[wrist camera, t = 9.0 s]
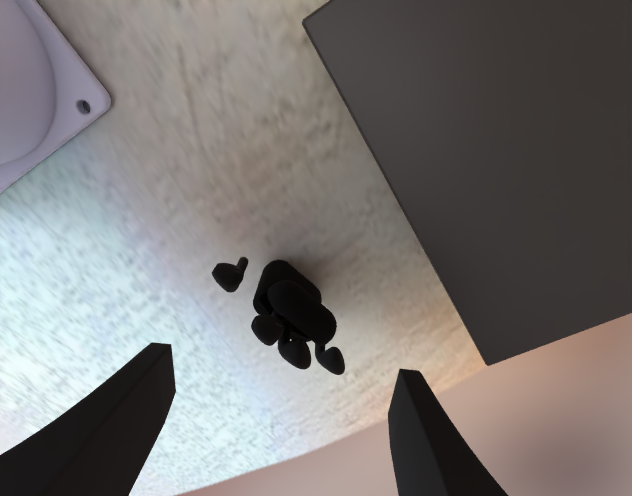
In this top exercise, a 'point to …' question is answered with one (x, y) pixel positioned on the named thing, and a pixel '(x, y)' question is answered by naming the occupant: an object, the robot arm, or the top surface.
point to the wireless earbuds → (287, 313)
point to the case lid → (500, 150)
